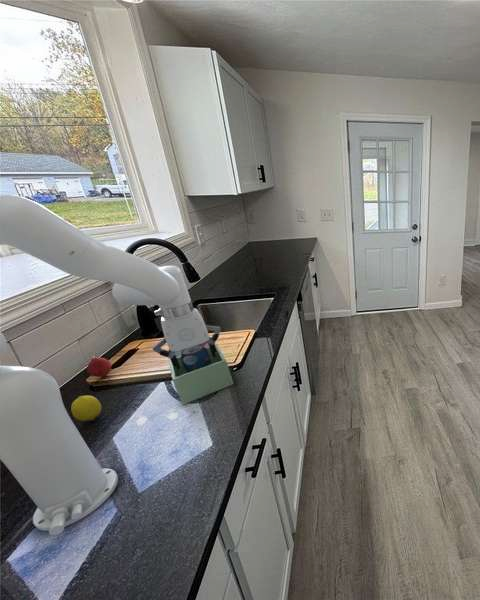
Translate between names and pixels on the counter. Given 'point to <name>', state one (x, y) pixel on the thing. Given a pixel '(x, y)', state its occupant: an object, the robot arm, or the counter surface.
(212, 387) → the bin
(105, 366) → the onion
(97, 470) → the robot arm
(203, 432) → the counter surface
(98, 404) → the lemon
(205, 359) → the soda can
